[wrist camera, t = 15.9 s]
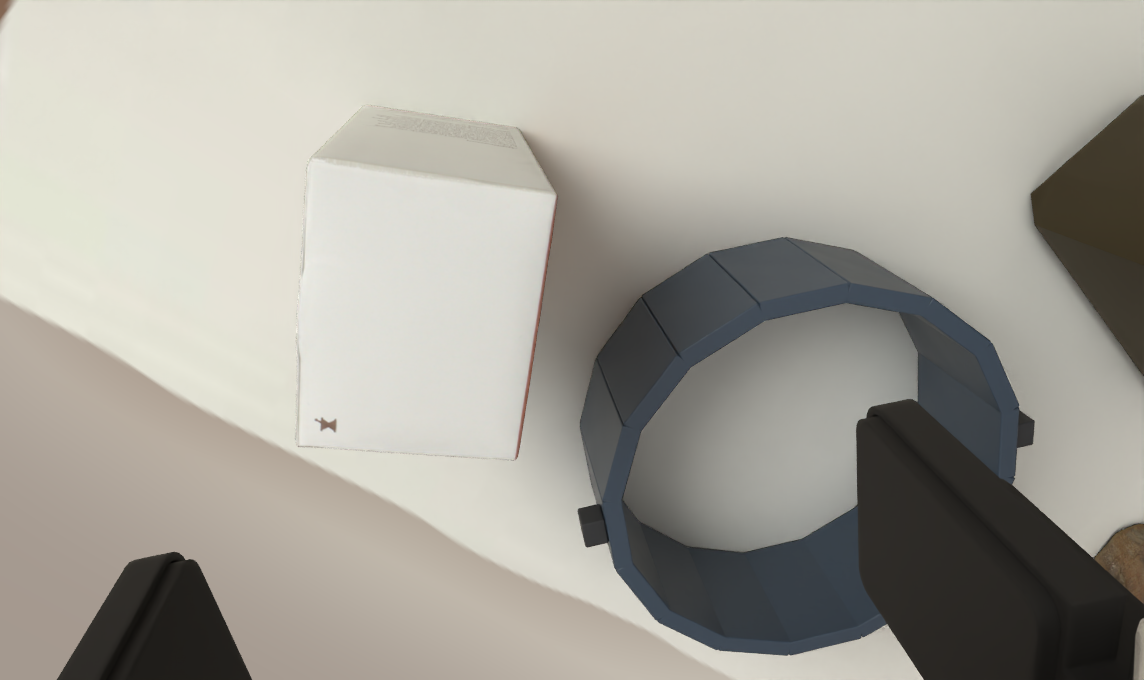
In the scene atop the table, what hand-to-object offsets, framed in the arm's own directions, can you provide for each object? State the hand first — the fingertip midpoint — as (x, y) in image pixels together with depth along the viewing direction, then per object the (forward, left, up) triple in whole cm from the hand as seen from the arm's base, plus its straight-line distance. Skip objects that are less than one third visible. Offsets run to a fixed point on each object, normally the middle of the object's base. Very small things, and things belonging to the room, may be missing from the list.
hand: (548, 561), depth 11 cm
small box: (0, -2, -24) cm, 24 cm away
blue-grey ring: (+13, +11, -24) cm, 29 cm away
